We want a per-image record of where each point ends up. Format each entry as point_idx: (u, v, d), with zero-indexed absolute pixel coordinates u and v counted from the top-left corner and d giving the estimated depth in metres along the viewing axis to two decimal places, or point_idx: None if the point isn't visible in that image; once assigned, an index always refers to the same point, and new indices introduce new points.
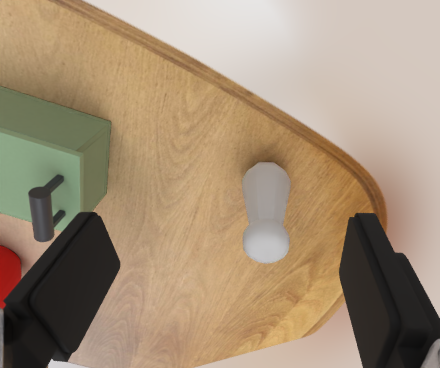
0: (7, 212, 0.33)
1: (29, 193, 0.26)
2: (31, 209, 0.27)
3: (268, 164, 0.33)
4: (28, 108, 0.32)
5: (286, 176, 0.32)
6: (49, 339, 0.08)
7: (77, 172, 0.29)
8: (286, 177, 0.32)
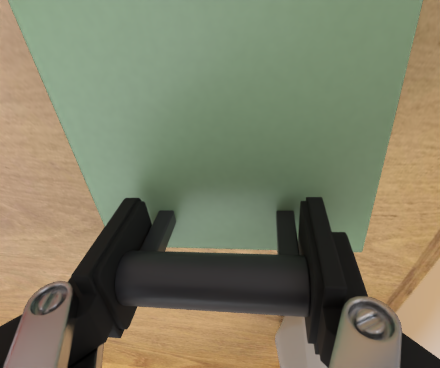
0: (44, 54, 0.09)
1: (310, 286, 0.08)
2: (251, 297, 0.08)
3: None
4: None
5: None
6: (108, 315, 0.09)
7: None
8: None
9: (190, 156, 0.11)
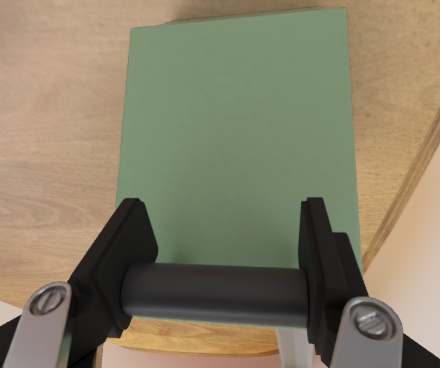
0: (129, 139, 0.15)
1: (307, 280, 0.09)
2: (253, 286, 0.09)
3: None
4: None
5: None
6: (107, 315, 0.09)
7: None
8: None
9: (207, 213, 0.14)
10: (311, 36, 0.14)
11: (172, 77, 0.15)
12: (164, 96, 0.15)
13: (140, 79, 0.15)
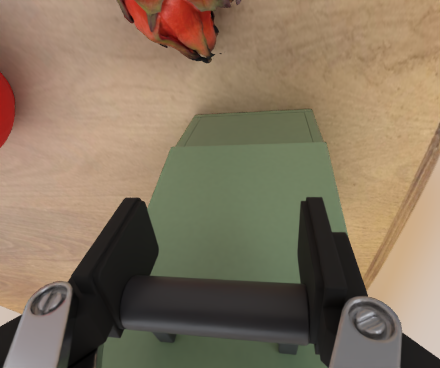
0: (152, 212, 0.18)
1: (306, 288, 0.09)
2: (253, 287, 0.09)
3: None
4: None
5: None
6: (108, 315, 0.09)
7: None
8: None
9: (211, 273, 0.14)
10: (302, 155, 0.19)
11: (196, 174, 0.20)
12: (188, 185, 0.19)
13: (171, 175, 0.20)
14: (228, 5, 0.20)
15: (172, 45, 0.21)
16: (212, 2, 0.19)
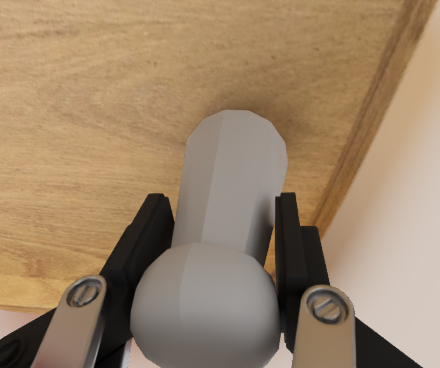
0: None
1: None
2: None
3: None
4: None
5: None
6: None
7: None
8: None
9: None
10: None
11: None
12: None
13: None
14: None
15: None
16: None
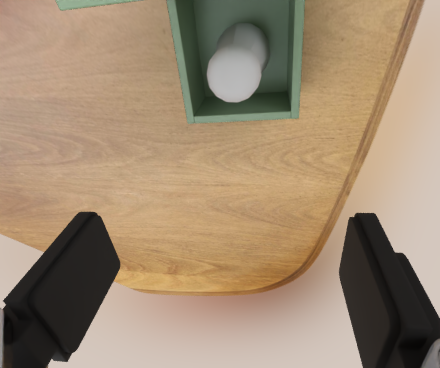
0: None
1: None
2: None
3: (268, 43, 0.29)
4: None
5: (264, 68, 0.30)
6: (49, 340, 0.08)
7: None
8: (263, 70, 0.30)
9: None
10: None
11: None
12: None
13: None
14: None
15: None
16: None
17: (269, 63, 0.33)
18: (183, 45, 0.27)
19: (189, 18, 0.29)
